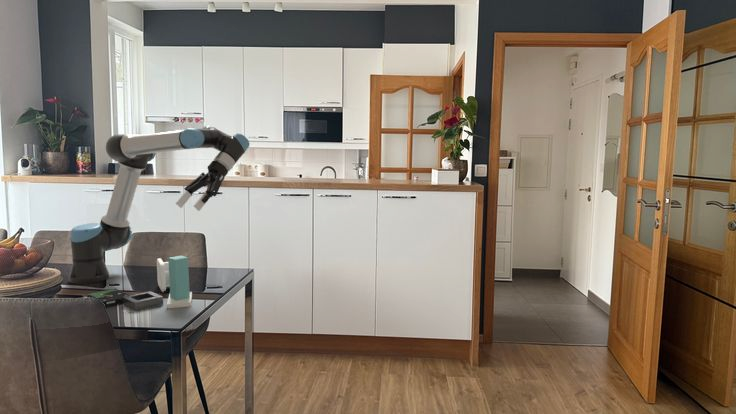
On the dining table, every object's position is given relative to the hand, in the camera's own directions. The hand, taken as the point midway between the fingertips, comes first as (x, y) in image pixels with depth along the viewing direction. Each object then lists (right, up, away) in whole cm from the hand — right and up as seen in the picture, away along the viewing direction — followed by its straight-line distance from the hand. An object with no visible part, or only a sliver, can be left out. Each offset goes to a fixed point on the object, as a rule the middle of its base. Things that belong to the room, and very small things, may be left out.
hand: (187, 207), depth 197 cm
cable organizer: (-10, -33, +13) cm, 36 cm away
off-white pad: (0, -35, -6) cm, 35 cm away
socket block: (-12, -35, -10) cm, 39 cm away
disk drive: (-27, -35, -4) cm, 45 cm away
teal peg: (0, -33, -6) cm, 34 cm away
